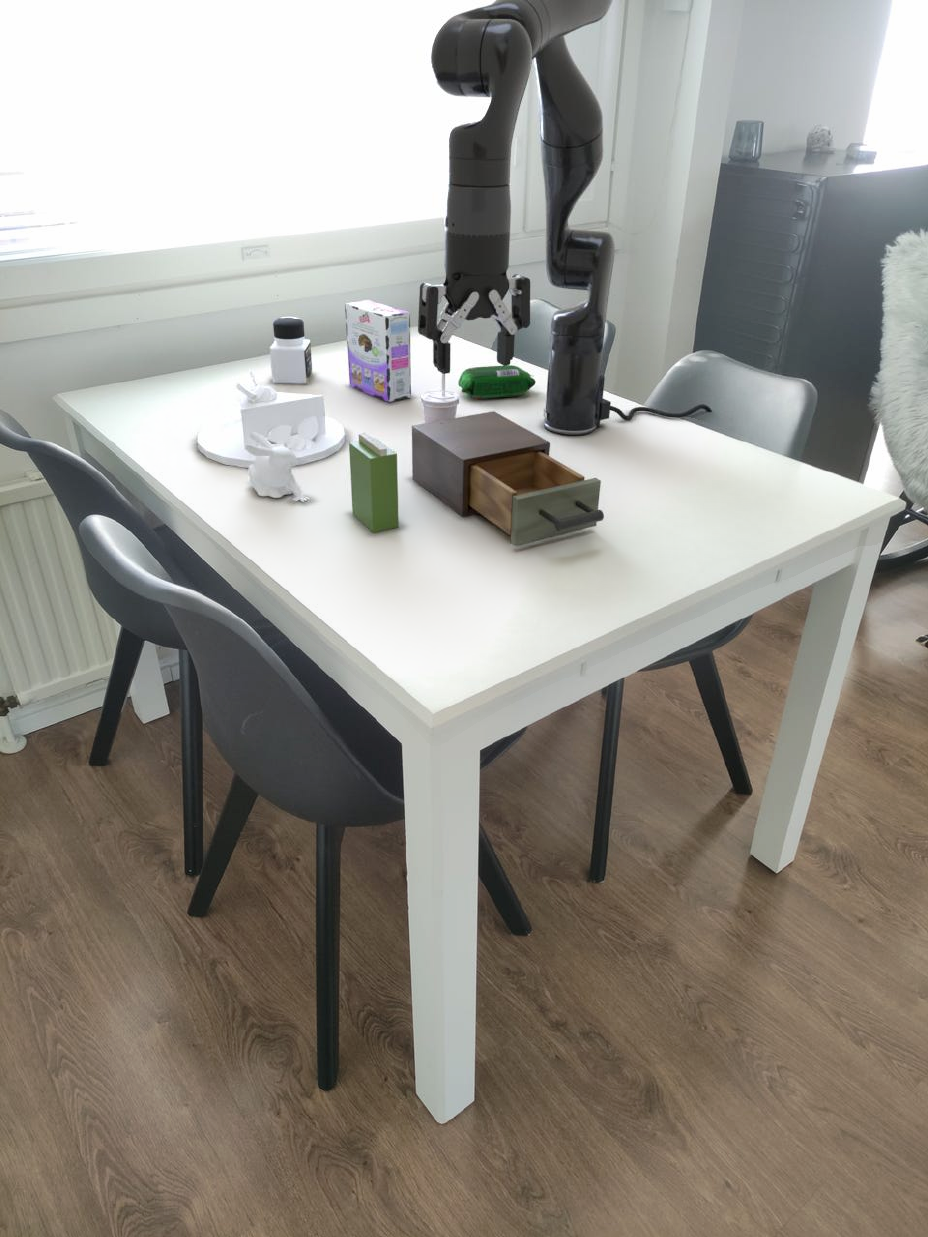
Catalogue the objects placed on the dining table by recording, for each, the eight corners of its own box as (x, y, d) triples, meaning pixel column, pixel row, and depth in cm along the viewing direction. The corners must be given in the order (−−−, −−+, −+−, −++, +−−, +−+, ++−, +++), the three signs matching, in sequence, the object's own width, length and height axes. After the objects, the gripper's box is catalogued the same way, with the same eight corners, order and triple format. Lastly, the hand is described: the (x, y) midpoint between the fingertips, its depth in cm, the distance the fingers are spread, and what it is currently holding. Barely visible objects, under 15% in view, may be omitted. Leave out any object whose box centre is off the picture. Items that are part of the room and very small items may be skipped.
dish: (196, 472, 145) (186, 403, 139) (201, 419, 166) (192, 357, 160) (351, 463, 149) (348, 395, 143) (337, 413, 170) (334, 352, 164)
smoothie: (454, 460, 151) (455, 376, 144) (416, 457, 152) (415, 373, 145) (462, 447, 156) (463, 365, 149) (425, 443, 157) (425, 362, 150)
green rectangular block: (352, 514, 133) (348, 435, 126) (377, 508, 135) (374, 430, 128) (373, 532, 128) (370, 451, 121) (398, 527, 129) (396, 446, 123)
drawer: (620, 541, 125) (625, 494, 121) (537, 563, 119) (540, 515, 115) (538, 489, 139) (541, 446, 136) (461, 506, 133) (462, 462, 130)
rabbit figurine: (311, 501, 136) (306, 439, 131) (264, 513, 133) (257, 450, 127) (275, 475, 145) (270, 415, 139) (230, 485, 141) (223, 425, 136)
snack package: (539, 398, 180) (541, 371, 177) (462, 402, 177) (463, 375, 174) (528, 387, 186) (530, 361, 183) (454, 391, 182) (454, 365, 180)
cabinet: (546, 497, 139) (550, 442, 134) (462, 516, 133) (463, 459, 128) (492, 462, 151) (493, 410, 146) (412, 479, 144) (411, 425, 140)
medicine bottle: (307, 384, 185) (302, 323, 178) (272, 383, 185) (266, 322, 178) (312, 373, 191) (308, 314, 185) (278, 373, 191) (273, 314, 185)
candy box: (412, 397, 179) (411, 311, 170) (388, 403, 175) (386, 315, 167) (371, 380, 187) (368, 297, 179) (347, 386, 184) (343, 301, 176)
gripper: (437, 235, 99) (437, 383, 107) (547, 228, 105) (538, 368, 113) (407, 225, 104) (408, 367, 113) (513, 218, 110) (507, 353, 119)
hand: (474, 367), depth 113 cm, fingers open, 8 cm apart
